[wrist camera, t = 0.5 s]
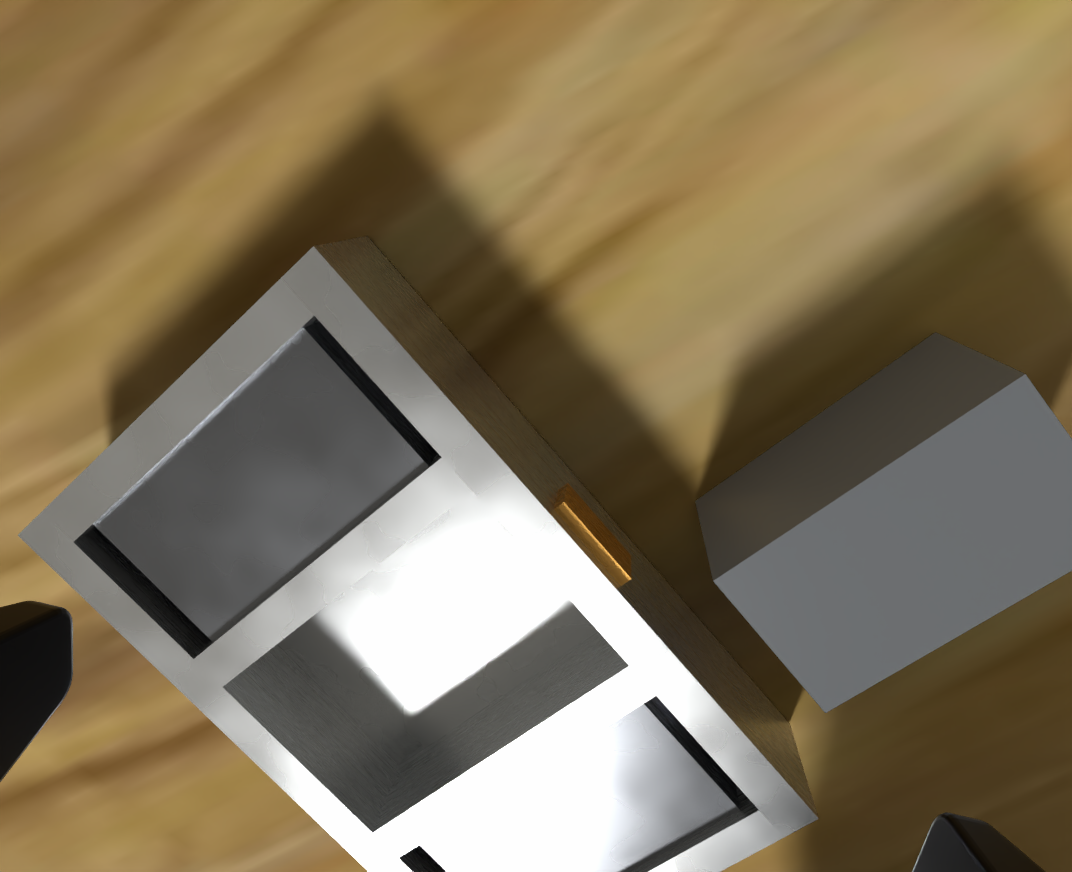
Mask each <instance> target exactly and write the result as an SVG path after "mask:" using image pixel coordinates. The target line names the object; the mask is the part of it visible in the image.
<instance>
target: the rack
mask: <svg viewBox="0 0 1072 872" xmlns="http://www.w3.org/2000/svg"><path fill="white" fill-rule="evenodd" d="M18 536H19V537H20V538H21V539H22V540H23V541H24V542H25V543H26V544H27V545H28V546H29V547H31V548H32V549H33V550H34V551H35V552H36V553H37V554H38V555H39V556H40V557H41V558H42V559H43V560H44V561H45V562H46V563H47V564H48V565H49V566H50V567H51V568H52V569H53V570H55V571H56V572H57V573H58V574H59V575H60V576H61V577H62V578H63V579H64V580H65V581H66V582H67V583H68V584H69V585H70V586H71V587H72V588H73V589H74V590H75V591H76V592H77V593H79V594H80V595H81V596H82V597H83V598H84V599H85V600H86V601H87V602H88V603H89V604H90V605H91V606H92V607H93V608H94V609H95V610H96V611H97V612H98V613H99V614H100V615H101V616H102V617H104V618H105V619H106V620H107V621H108V622H109V623H110V624H111V625H112V626H113V627H114V628H115V629H116V630H117V631H118V632H119V633H120V634H121V635H122V636H123V637H124V638H125V639H126V640H128V641H129V642H130V643H131V644H132V645H133V646H134V647H135V648H136V649H137V650H138V651H139V652H140V653H141V654H142V655H143V656H144V657H145V658H146V659H147V660H148V661H149V662H150V663H151V664H153V665H154V666H155V667H156V668H157V669H158V670H159V671H160V672H161V673H162V674H163V675H164V676H165V677H166V678H167V679H168V680H169V681H170V682H171V683H172V684H173V685H174V686H175V687H177V688H178V689H179V690H180V691H181V692H182V693H183V694H184V695H185V696H186V697H187V698H188V699H189V700H190V701H191V702H192V703H193V704H194V705H195V706H196V707H197V708H198V709H199V710H200V711H202V712H203V713H204V714H205V715H206V716H207V717H208V718H209V719H210V720H211V721H212V722H213V723H214V724H215V725H216V726H217V727H218V728H219V729H220V730H221V731H222V732H223V733H224V734H226V735H227V736H228V737H229V738H230V739H231V740H232V741H233V742H234V743H235V744H236V745H237V746H238V747H239V748H240V749H241V750H242V751H243V752H244V753H245V754H246V755H247V756H248V757H250V758H251V759H252V760H253V761H254V762H255V763H256V764H257V765H258V766H259V767H260V768H261V769H262V770H263V771H264V772H265V773H266V774H267V775H268V776H269V777H270V778H271V779H272V780H273V781H275V782H276V783H277V784H278V785H279V786H280V787H281V788H282V789H283V790H284V791H285V792H286V793H287V794H288V795H289V796H290V797H291V798H292V799H293V800H294V801H295V802H296V803H297V804H299V805H300V806H301V807H302V808H303V809H304V810H305V811H306V812H307V813H308V814H309V815H310V816H311V817H312V818H313V819H314V820H315V821H316V822H317V823H318V824H319V825H320V826H321V827H322V828H324V829H325V830H326V831H327V832H328V833H329V834H330V835H331V836H332V837H333V838H334V839H335V840H336V841H337V842H338V843H339V844H340V845H341V846H342V847H343V848H344V849H345V850H346V851H348V852H349V853H350V854H351V855H352V856H353V857H354V858H355V859H356V860H357V861H358V862H359V863H360V864H361V865H362V866H363V867H364V868H365V869H366V870H367V871H368V872H720V871H722V870H724V869H726V868H728V867H730V866H732V865H733V864H735V863H737V862H739V861H741V860H743V859H745V858H746V857H748V856H750V855H752V854H754V853H756V852H758V851H760V850H761V849H763V848H765V847H767V846H769V845H771V844H773V843H774V842H776V841H778V840H780V839H782V838H784V837H786V836H787V835H789V834H791V833H793V832H795V831H797V830H799V829H801V828H802V827H804V826H806V825H808V824H810V823H812V822H814V821H815V820H817V819H819V818H818V814H817V811H816V808H815V805H814V801H813V798H812V795H811V792H810V788H809V785H808V782H807V779H806V775H805V772H804V769H803V766H802V762H801V759H800V756H799V753H798V749H797V746H796V743H795V740H794V736H793V733H792V730H791V726H790V724H789V722H788V721H787V720H786V719H785V718H784V717H783V715H782V714H781V713H780V712H779V711H778V710H777V709H776V707H775V706H774V705H773V704H772V703H771V702H770V700H769V699H768V698H767V697H766V696H765V695H764V694H763V692H762V691H761V690H760V689H759V688H758V687H757V685H756V684H755V683H754V682H753V681H752V680H751V678H750V677H749V676H748V675H747V674H746V673H745V672H744V670H743V669H742V668H741V667H740V666H739V665H738V663H737V662H736V661H735V660H734V659H733V658H732V657H731V655H730V654H729V653H728V652H727V651H726V650H725V648H724V647H723V646H722V645H721V644H720V643H719V642H718V640H717V639H716V638H715V637H714V636H713V635H712V633H711V632H710V631H709V630H708V629H707V628H706V627H705V625H704V624H703V623H702V622H701V621H700V620H699V618H698V617H697V616H696V615H695V614H694V613H693V612H692V610H691V609H690V608H689V607H688V606H687V605H686V603H685V602H684V601H683V600H682V599H681V598H680V596H679V595H678V594H677V593H676V592H675V591H674V590H673V588H672V587H671V586H670V585H669V584H668V583H667V581H666V580H665V579H664V578H663V577H662V576H661V575H660V573H659V572H658V571H657V570H656V569H655V568H654V566H653V565H652V564H651V563H650V562H649V561H648V560H647V558H646V557H645V556H644V555H643V554H642V553H641V551H640V550H639V549H638V548H637V547H636V546H635V545H634V543H633V542H632V541H631V540H630V539H629V538H628V536H627V535H626V534H625V533H624V532H623V531H622V530H621V528H620V527H619V526H618V525H617V524H616V523H615V521H614V520H613V519H612V518H611V517H610V516H609V515H608V513H607V512H606V511H605V510H604V509H603V508H602V506H601V505H600V504H599V503H598V502H597V501H596V499H595V498H594V497H593V496H592V495H591V494H590V493H589V491H588V490H587V489H586V488H585V487H584V486H583V484H582V483H581V482H580V481H579V480H578V479H577V478H576V476H575V475H574V474H573V473H572V472H571V471H570V469H569V468H568V467H567V466H566V465H565V464H564V463H563V461H562V460H561V459H560V458H559V457H558V456H557V454H556V453H555V452H554V451H553V450H552V449H551V448H550V446H549V445H548V444H547V443H546V442H545V441H544V439H543V438H542V437H541V436H540V435H539V434H538V433H537V431H536V430H535V429H534V428H533V427H532V426H531V424H530V423H529V422H528V421H527V420H526V419H525V418H524V416H523V415H522V414H521V413H520V412H519V411H518V409H517V408H516V407H515V406H514V405H513V404H512V402H511V401H510V400H509V399H508V398H507V397H506V396H505V394H504V393H503V392H502V391H501V390H500V389H499V387H498V386H497V385H496V384H495V383H494V382H493V381H492V379H491V378H490V377H489V376H488V375H487V374H486V372H485V371H484V370H483V369H482V368H481V367H480V366H479V364H478V363H477V362H476V361H475V360H474V359H473V357H472V356H471V355H470V354H469V353H468V352H467V351H466V349H465V348H464V347H463V346H462V345H461V344H460V342H459V341H458V340H457V339H456V338H455V337H454V336H453V334H452V333H451V332H450V331H449V330H448V329H447V327H446V326H445V325H444V324H443V323H442V322H441V321H440V319H439V318H438V317H437V316H436V315H435V314H434V312H433V311H432V310H431V309H430V308H429V307H428V305H427V304H426V303H425V302H424V301H423V300H422V299H421V297H420V296H419V295H418V294H417V293H416V292H415V290H414V289H413V288H412V287H411V286H410V285H409V284H408V282H407V281H406V280H405V279H404V278H403V277H402V275H401V274H400V273H399V272H398V271H397V270H396V269H395V267H394V266H393V265H392V264H391V263H390V262H389V260H388V259H387V258H386V257H385V256H384V255H383V254H382V252H381V251H380V250H379V249H378V248H377V247H376V245H375V244H374V243H373V242H372V241H371V240H370V239H369V237H368V236H365V237H359V238H354V239H349V240H344V241H338V242H333V243H328V244H323V245H317V246H313V247H312V248H311V249H310V250H309V251H308V252H307V253H306V254H305V255H304V256H303V257H302V258H301V259H300V260H299V261H298V262H297V263H296V264H295V265H294V266H293V267H292V268H291V269H290V270H289V271H288V272H287V273H286V274H285V275H284V276H282V277H281V278H280V279H279V280H278V281H277V282H276V283H275V284H274V285H273V286H272V287H271V288H270V289H269V290H268V291H267V292H266V293H265V294H264V295H263V296H262V297H261V298H260V299H259V300H258V301H257V302H256V303H255V304H254V305H253V306H252V307H251V308H250V309H249V310H248V311H247V312H246V313H245V314H244V315H243V316H242V317H241V318H240V319H238V320H237V321H236V322H235V323H234V324H233V325H232V326H231V327H230V328H229V329H228V330H227V331H226V332H225V333H224V334H223V335H222V336H221V337H220V338H219V339H218V340H217V341H216V342H215V343H214V344H213V345H212V346H211V347H210V348H209V349H208V350H207V351H206V352H205V353H204V354H203V355H202V356H201V357H200V358H199V359H198V360H197V361H196V362H195V363H193V364H192V365H191V366H190V367H189V368H188V369H187V370H186V371H185V372H184V373H183V374H182V375H181V376H180V377H179V378H178V379H177V380H176V381H175V382H174V383H173V384H172V385H171V386H170V387H169V388H168V389H167V390H166V391H165V392H164V393H163V394H162V395H161V396H160V397H159V398H158V399H157V400H156V401H155V402H154V403H153V404H152V405H151V406H149V407H148V408H147V409H146V410H145V411H144V412H143V413H142V414H141V415H140V416H139V417H138V418H137V419H136V420H135V421H134V422H133V423H132V424H131V425H130V426H129V427H128V428H127V429H126V430H125V431H124V432H123V433H122V434H121V435H120V436H119V437H118V438H117V439H116V440H115V441H114V442H113V443H112V444H111V445H110V446H109V447H108V448H107V449H105V450H104V451H103V452H102V453H101V454H100V455H99V456H98V457H97V458H96V459H95V460H94V461H93V462H92V463H91V464H90V465H89V466H88V467H87V468H86V469H85V470H84V471H83V472H82V473H81V474H80V475H79V476H78V477H77V478H76V479H75V480H74V481H73V482H72V483H71V484H70V485H69V486H68V487H67V488H66V489H65V490H64V491H63V492H61V493H60V494H59V495H58V496H57V497H56V498H55V499H54V500H53V501H52V502H51V503H50V504H49V505H48V506H47V507H46V508H45V509H44V510H43V511H42V512H41V513H40V514H39V515H38V516H37V517H36V518H35V519H34V520H33V521H32V522H31V523H30V524H29V525H28V526H27V527H26V528H25V529H24V530H23V531H22V532H21V533H20V534H19V535H18Z"/></svg>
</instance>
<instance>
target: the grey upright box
mask: <svg viewBox="0 0 1072 872" xmlns="http://www.w3.org/2000/svg"><path fill="white" fill-rule="evenodd" d="M695 503H696V507H697V512H698V516H699V521H700V525H701V529H702V534H703V538H704V543H705V547H706V552H707V556H708V560H709V565H710V569H711V574H712V578H713V581H714V583H715V584H716V585H717V586H718V587H719V589H720V590H721V591H722V592H723V593H724V594H725V596H726V597H727V598H728V599H729V600H730V601H731V603H732V604H733V605H734V606H735V607H736V609H737V610H738V611H739V612H740V613H741V614H742V616H743V617H744V618H745V619H746V620H747V621H748V623H749V624H750V625H751V626H752V627H753V628H754V630H755V631H756V632H757V633H758V634H759V636H760V637H761V638H762V639H763V640H764V641H765V643H766V644H767V645H768V646H769V647H770V648H771V650H772V651H773V652H774V653H775V654H776V656H777V657H778V658H779V659H780V660H781V661H782V663H783V664H784V665H785V666H786V667H787V668H788V670H789V671H790V672H791V673H792V674H793V676H794V677H795V678H796V679H797V680H798V681H799V683H800V684H801V685H802V686H803V687H804V688H805V690H806V691H807V692H808V693H809V694H810V696H811V697H812V698H813V699H814V700H815V701H816V703H817V704H818V705H819V706H820V707H821V708H822V710H823V711H824V712H825V713H827V712H828V711H830V710H832V709H833V708H835V707H837V706H839V705H840V704H842V703H844V702H846V701H847V700H849V699H851V698H852V697H854V696H856V695H858V694H859V693H861V692H863V691H865V690H866V689H868V688H870V687H871V686H873V685H875V684H877V683H878V682H880V681H882V680H884V679H885V678H887V677H889V676H890V675H892V674H894V673H896V672H897V671H899V670H901V669H903V668H904V667H906V666H908V665H910V664H911V663H913V662H915V661H916V660H918V659H920V658H922V657H923V656H925V655H927V654H929V653H930V652H932V651H934V650H935V649H937V648H939V647H941V646H942V645H944V644H946V643H948V642H949V641H951V640H953V639H954V638H956V637H958V636H960V635H961V634H963V633H965V632H967V631H968V630H970V629H972V628H973V627H975V626H977V625H979V624H980V623H982V622H984V621H986V620H987V619H989V618H991V617H993V616H994V615H996V614H998V613H999V612H1001V611H1003V610H1005V609H1006V608H1008V607H1010V606H1012V605H1013V604H1015V603H1017V602H1018V601H1020V600H1022V599H1024V598H1025V597H1027V596H1029V595H1031V594H1032V593H1034V592H1036V591H1037V590H1039V589H1041V588H1043V587H1044V586H1046V585H1048V584H1050V583H1051V582H1053V581H1055V580H1056V579H1058V578H1060V577H1062V576H1063V575H1065V574H1067V573H1069V572H1070V571H1072V439H1071V437H1070V436H1069V434H1068V433H1067V432H1066V430H1065V429H1064V427H1063V426H1062V425H1061V423H1060V422H1059V420H1058V419H1057V418H1056V416H1055V415H1054V413H1053V412H1052V411H1051V409H1050V408H1049V406H1048V405H1047V404H1046V402H1045V401H1044V399H1043V398H1042V397H1041V395H1040V394H1039V392H1038V391H1037V390H1036V388H1035V387H1034V385H1033V384H1032V383H1031V381H1030V380H1029V378H1028V377H1027V376H1026V374H1024V373H1022V372H1020V371H1018V370H1016V369H1014V368H1011V367H1009V366H1007V365H1005V364H1003V363H1001V362H998V361H996V360H994V359H992V358H990V357H988V356H986V355H983V354H981V353H979V352H977V351H975V350H973V349H971V348H968V347H966V346H964V345H962V344H960V343H958V342H955V341H953V340H951V339H949V338H947V337H945V336H943V335H940V334H938V333H936V332H935V333H934V334H932V335H931V336H929V337H928V338H926V339H925V340H924V341H922V342H921V343H919V344H918V345H916V346H915V347H914V348H912V349H911V350H909V351H908V352H907V353H905V354H904V355H902V356H901V357H899V358H898V359H897V360H895V361H894V362H892V363H891V364H889V365H888V366H887V367H885V368H884V369H882V370H881V371H879V372H878V373H877V374H875V375H874V376H872V377H871V378H870V379H868V380H867V381H865V382H864V383H862V384H861V385H860V386H858V387H857V388H855V389H854V390H852V391H851V392H850V393H848V394H847V395H845V396H844V397H842V398H841V399H840V400H838V401H837V402H835V403H834V404H832V405H831V406H830V407H828V408H827V409H825V410H824V411H823V412H821V413H820V414H818V415H817V416H815V417H814V418H813V419H811V420H810V421H808V422H807V423H805V424H804V425H803V426H801V427H800V428H798V429H797V430H795V431H794V432H793V433H791V434H790V435H788V436H787V437H786V438H784V439H783V440H781V441H780V442H778V443H777V444H776V445H774V446H773V447H771V448H770V449H768V450H767V451H766V452H764V453H763V454H761V455H760V456H758V457H757V458H756V459H754V460H753V461H751V462H750V463H749V464H747V465H746V466H744V467H743V468H741V469H740V470H739V471H737V472H736V473H734V474H733V475H731V476H730V477H729V478H727V479H726V480H724V481H723V482H721V483H720V484H719V485H717V486H716V487H714V488H713V489H711V490H710V491H709V492H707V493H706V494H704V495H703V496H702V497H700V498H699V499H697V500H696V501H695Z"/></svg>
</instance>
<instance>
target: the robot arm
mask: <svg viewBox="0 0 1072 872" xmlns="http://www.w3.org/2000/svg"><path fill="white" fill-rule="evenodd" d="M72 676H73V622H72V617H71V615H70V613H69V612H68V611H67V610H66V609H64V608H62V607H58V606H53V605H49V604H45V603H41V602H36V601H24V602H20V603H16V604H12V605H8V606H4V607H0V782H1V781H2V779H3V778H4V777H5V775H6V774H7V773H8V771H9V770H10V769H11V768H12V766H13V765H14V764H15V762H16V761H17V760H18V758H19V757H20V756H21V755H22V753H23V752H24V751H25V749H26V748H27V747H28V745H29V744H30V743H31V742H32V740H33V739H34V738H35V736H36V735H37V734H38V732H39V731H40V730H41V729H42V727H43V726H44V725H45V723H46V722H47V721H48V719H49V718H50V717H51V716H52V714H53V713H54V712H55V710H56V709H57V708H58V706H59V705H60V704H61V703H62V701H63V699H64V698H65V696H66V694H67V692H68V690H69V688H70V685H71V681H72ZM912 872H1045V871H1044V870H1043V869H1042V868H1040V867H1039V866H1038V865H1037V864H1036V863H1035V862H1033V861H1032V860H1031V859H1030V858H1029V857H1027V856H1026V855H1025V854H1024V853H1023V852H1022V851H1020V850H1019V849H1018V848H1017V847H1016V846H1014V845H1013V844H1012V843H1011V842H1010V841H1009V840H1007V839H1006V838H1005V837H1004V836H1003V835H1001V834H1000V833H999V832H998V831H997V830H996V829H994V828H993V827H992V826H991V825H989V824H988V823H986V822H984V821H982V820H978V819H974V818H970V817H965V816H961V815H956V814H952V813H942V814H940V815H938V816H937V817H936V818H935V819H934V821H933V823H932V825H931V827H930V829H929V832H928V834H927V837H926V839H925V841H924V844H923V846H922V849H921V851H920V854H919V856H918V858H917V861H916V863H915V866H914V868H913V871H912Z"/></svg>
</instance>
